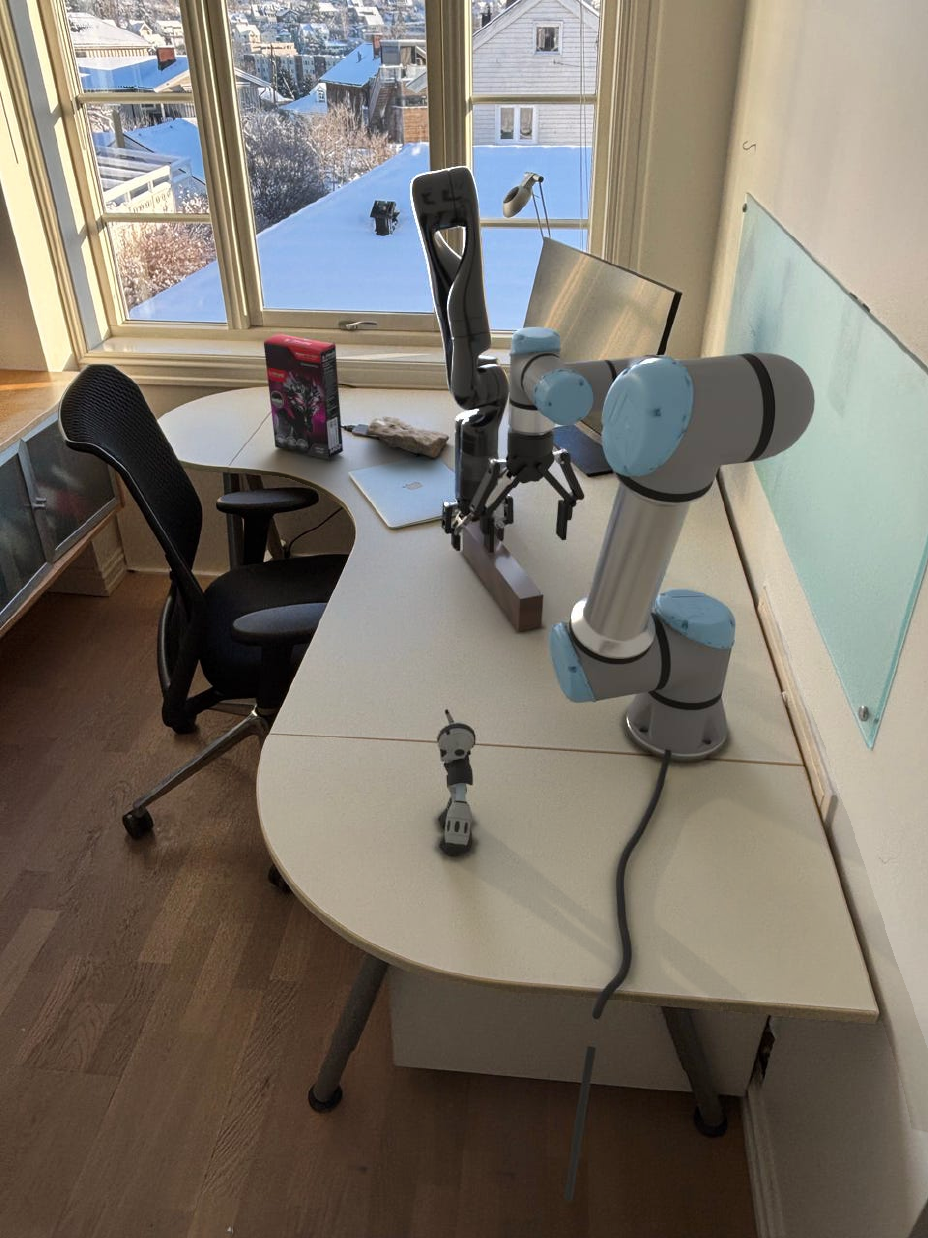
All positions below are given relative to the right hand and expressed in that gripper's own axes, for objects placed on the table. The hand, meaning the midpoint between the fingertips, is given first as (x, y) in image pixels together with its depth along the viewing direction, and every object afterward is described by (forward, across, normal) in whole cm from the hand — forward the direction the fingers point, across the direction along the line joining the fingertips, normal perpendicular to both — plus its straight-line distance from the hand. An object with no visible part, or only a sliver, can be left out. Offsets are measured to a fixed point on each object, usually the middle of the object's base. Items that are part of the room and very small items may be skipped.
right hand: (525, 542), depth 160 cm
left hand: (+12, +1, -22) cm, 25 cm away
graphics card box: (+16, +21, -87) cm, 91 cm away
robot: (+16, +29, +46) cm, 56 cm away
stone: (+16, -2, -82) cm, 83 cm away
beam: (+16, 0, -11) cm, 19 cm away
